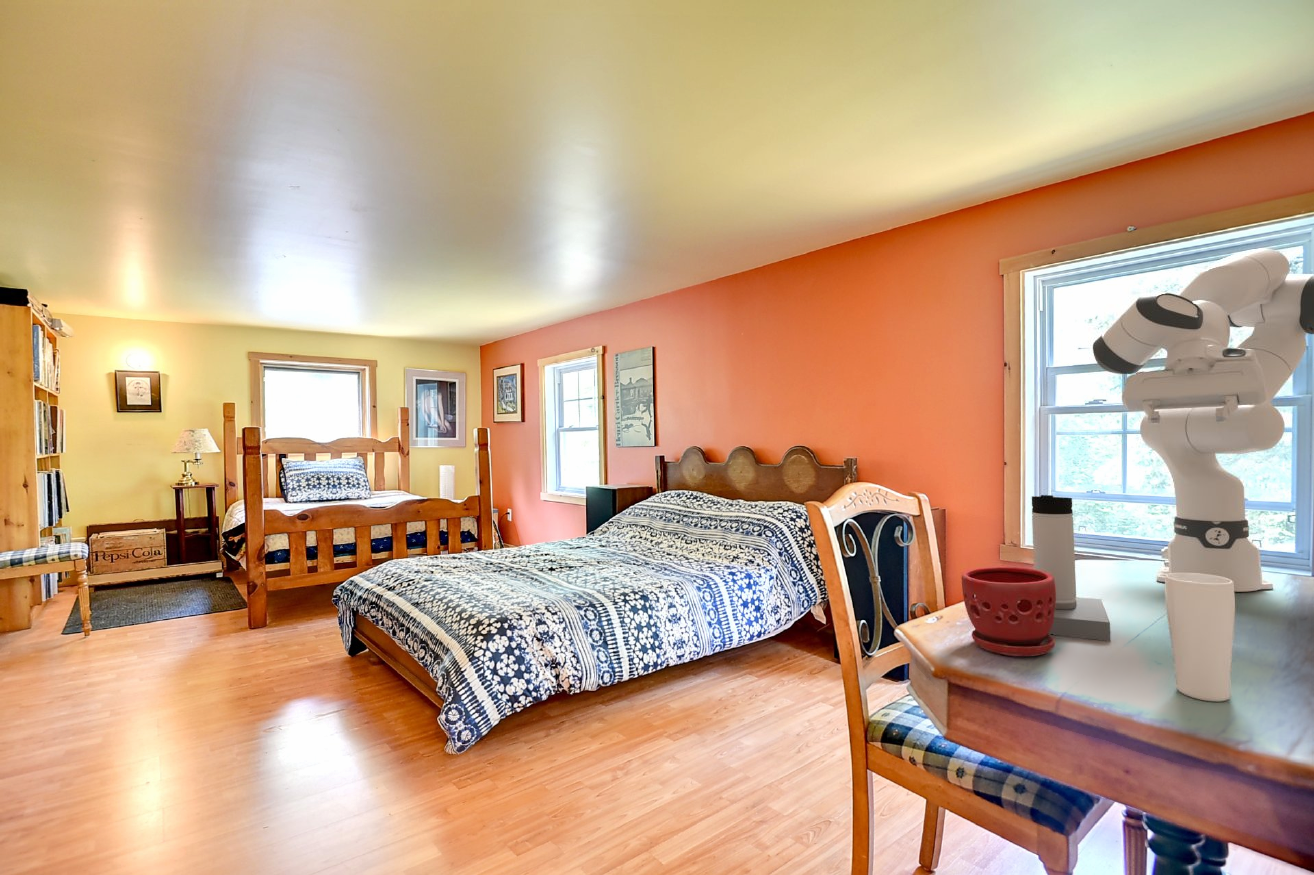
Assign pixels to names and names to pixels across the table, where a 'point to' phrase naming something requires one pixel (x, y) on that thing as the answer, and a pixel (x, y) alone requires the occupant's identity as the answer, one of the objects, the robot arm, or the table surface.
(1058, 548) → the travel mug
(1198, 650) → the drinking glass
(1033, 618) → the plant pot
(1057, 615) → the gray rectangular block
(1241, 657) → the table surface
